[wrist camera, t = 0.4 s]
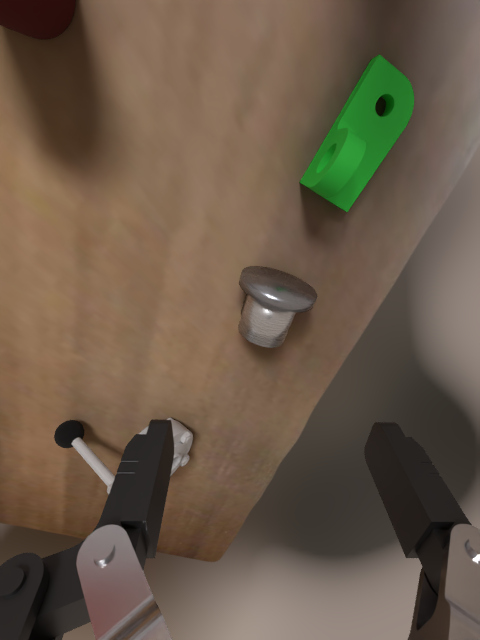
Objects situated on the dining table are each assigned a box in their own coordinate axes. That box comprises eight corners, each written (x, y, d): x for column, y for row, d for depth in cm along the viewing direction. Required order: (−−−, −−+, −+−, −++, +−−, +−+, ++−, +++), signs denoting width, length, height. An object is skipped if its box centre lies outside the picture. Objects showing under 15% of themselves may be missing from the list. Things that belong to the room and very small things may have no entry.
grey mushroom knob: (240, 260, 37) (243, 289, 30) (307, 277, 39) (326, 309, 31) (226, 308, 41) (225, 345, 33) (288, 322, 42) (301, 362, 34)
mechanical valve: (194, 461, 53) (119, 533, 42) (132, 404, 61) (54, 453, 50) (200, 422, 47) (114, 494, 37) (130, 366, 56) (43, 412, 45)
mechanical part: (341, 209, 35) (368, 223, 28) (299, 182, 33) (316, 190, 26) (416, 97, 30) (472, 81, 23) (370, 60, 28) (415, 30, 21)
